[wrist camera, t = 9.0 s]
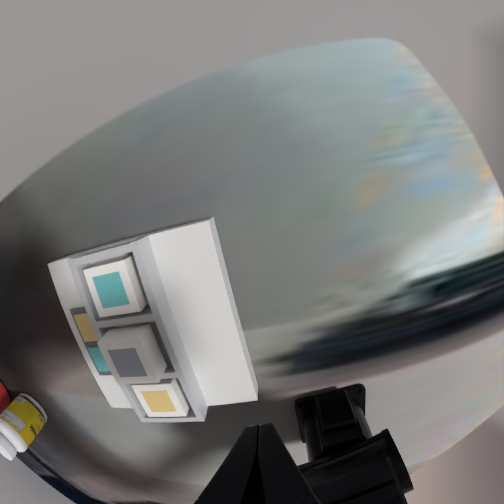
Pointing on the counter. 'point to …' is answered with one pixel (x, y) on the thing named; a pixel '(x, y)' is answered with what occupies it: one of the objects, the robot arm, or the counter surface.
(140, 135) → the counter surface
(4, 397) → the beer can
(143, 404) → the key
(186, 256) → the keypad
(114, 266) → the key
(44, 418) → the supplement bottle
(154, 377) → the key mid
